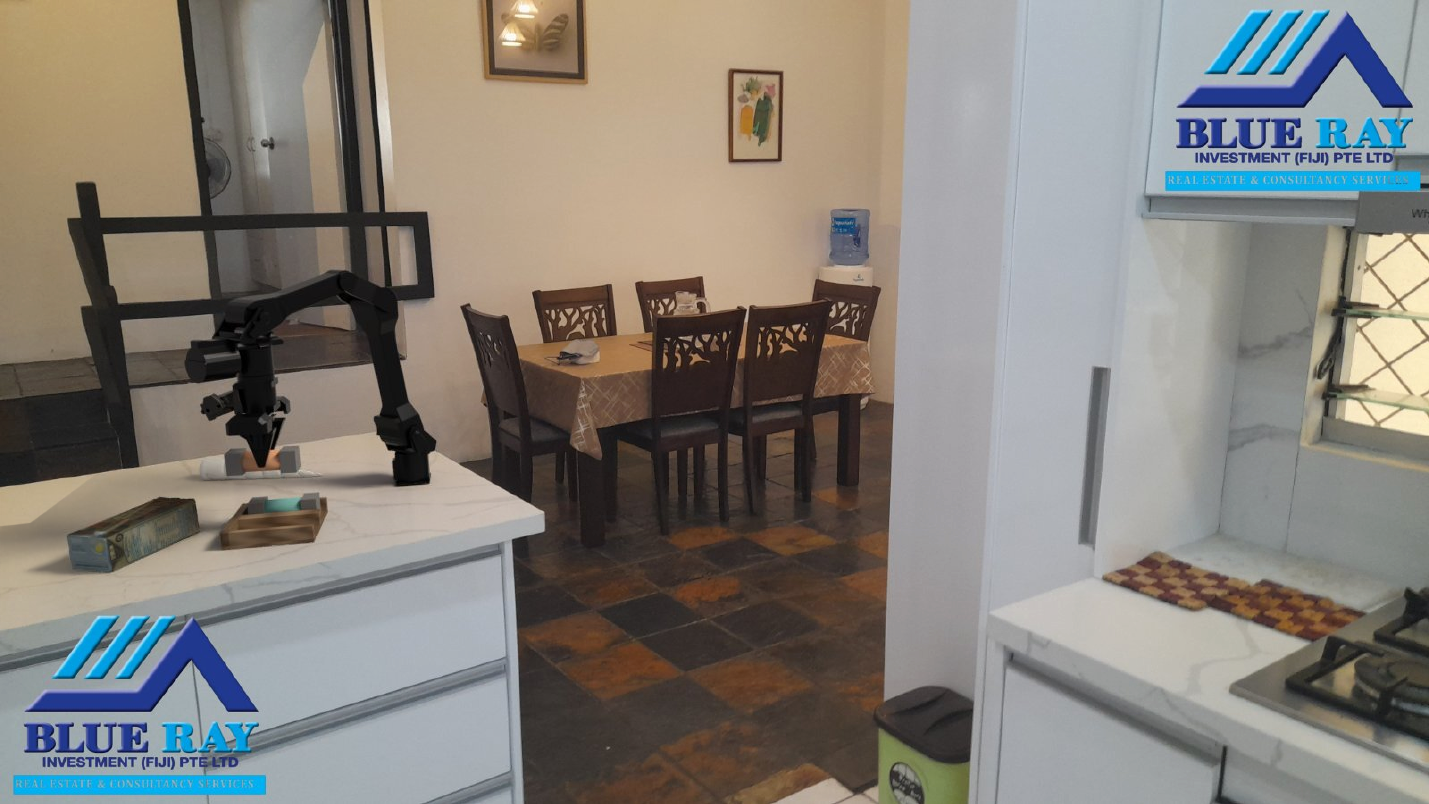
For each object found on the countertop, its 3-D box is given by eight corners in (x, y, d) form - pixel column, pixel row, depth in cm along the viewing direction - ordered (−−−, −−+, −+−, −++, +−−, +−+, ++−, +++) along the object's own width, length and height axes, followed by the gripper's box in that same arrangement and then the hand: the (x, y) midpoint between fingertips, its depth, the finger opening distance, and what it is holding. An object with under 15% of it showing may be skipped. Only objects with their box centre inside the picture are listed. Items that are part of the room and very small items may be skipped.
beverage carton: (68, 570, 148) (61, 530, 147) (164, 529, 166) (159, 493, 165) (111, 575, 146) (105, 534, 145) (203, 532, 164) (199, 495, 163)
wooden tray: (327, 511, 174) (326, 497, 173) (314, 542, 159) (312, 526, 158) (244, 518, 171) (242, 503, 170) (221, 550, 155) (219, 533, 155)
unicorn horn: (315, 482, 192) (312, 459, 191) (198, 483, 193) (195, 460, 192) (325, 476, 197) (322, 453, 196) (210, 476, 198) (208, 454, 197)
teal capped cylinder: (321, 512, 172) (319, 492, 171) (317, 519, 168) (315, 498, 167) (254, 518, 169) (252, 497, 168) (249, 525, 165) (247, 504, 165)
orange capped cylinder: (301, 466, 166) (299, 445, 166) (296, 472, 163) (294, 450, 162) (232, 470, 164) (230, 448, 163) (226, 476, 160) (224, 454, 160)
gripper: (219, 366, 167) (228, 453, 170) (185, 386, 149) (196, 482, 152) (287, 364, 169) (295, 450, 173) (262, 383, 152) (271, 478, 155)
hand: (264, 464), depth 163 cm, fingers closed on orange capped cylinder, 3 cm apart
